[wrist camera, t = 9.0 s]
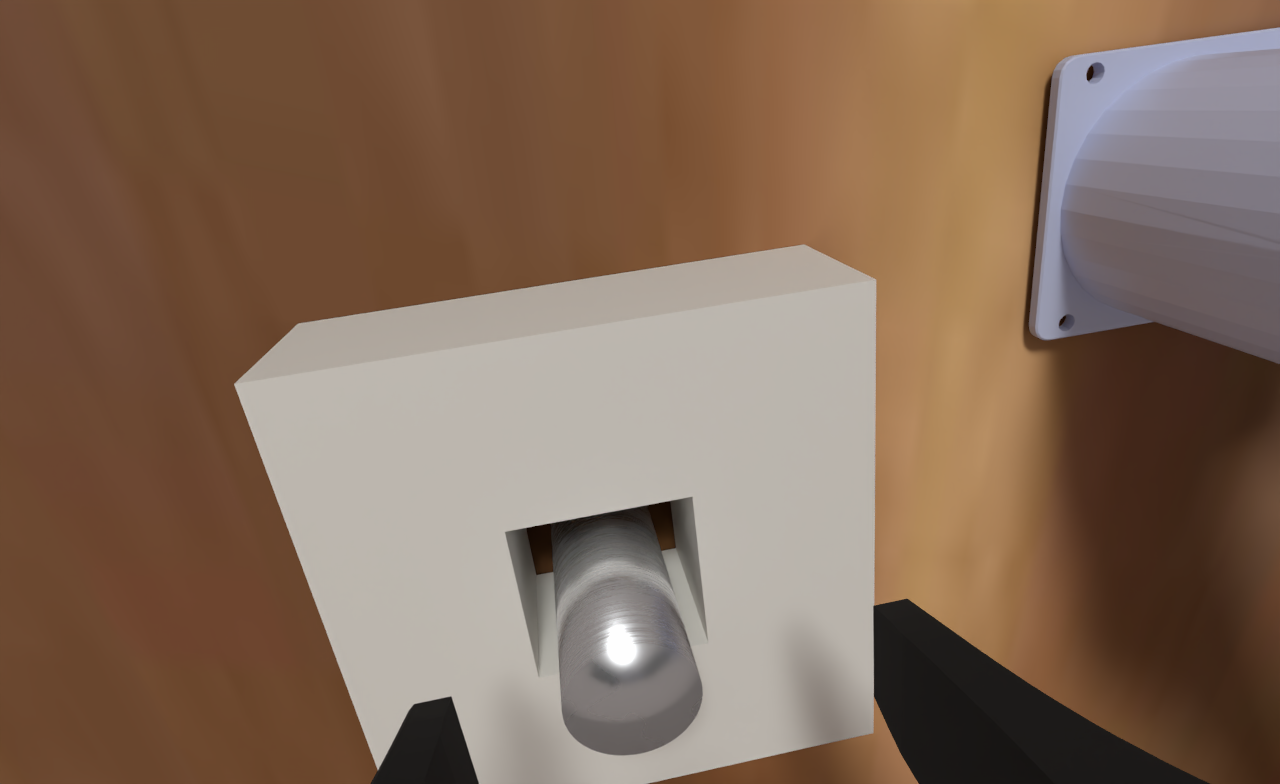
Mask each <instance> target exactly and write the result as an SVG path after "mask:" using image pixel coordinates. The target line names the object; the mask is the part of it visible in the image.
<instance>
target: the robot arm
mask: <svg viewBox="0 0 1280 784" xmlns="http://www.w3.org/2000/svg"><path fill="white" fill-rule="evenodd" d="M1091 65H1092V66H1093V70H1094V73H1093V76H1092V79H1091V80H1090V81H1089V82H1088V81H1087V77H1086V73H1087V70H1088V68H1089V67H1090V66H1091ZM1063 316H1066V319H1065V321H1064V323H1063V324H1062V325H1061V326H1059V322H1060V319H1061V318H1062V317H1063ZM1151 322H1157V323H1160V324H1163V325H1166V326H1169V327H1172V328H1174V329H1177V330H1180V331H1183V332H1186V333H1189V334H1192V335H1195V336H1198V337H1201V338H1204V339H1207V340H1210V341H1213V342H1216V343H1219V344H1222V345H1225V346H1228V347H1231V348H1234V349H1237V350H1240V351H1242V352H1245V353H1248V354H1251V355H1254V356H1257V357H1260V358H1263V359H1266V360H1269V361H1272V362H1275V363H1278V364H1280V27H1279V28H1272V29H1264V30H1257V31H1250V32H1242V33H1235V34H1228V35H1220V36H1213V37H1206V38H1198V39H1191V40H1184V41H1176V42H1169V43H1162V44H1154V45H1147V46H1140V47H1132V48H1125V49H1117V50H1110V51H1103V52H1095V53H1088V54H1081V55H1073V56H1069V57H1066V58H1064V59H1063V60H1062V61H1061V62H1059V63H1058V65H1057V66H1056V68H1055V69H1054V72H1053V76H1052V82H1051V92H1050V103H1049V114H1048V125H1047V135H1046V146H1045V157H1044V167H1043V178H1042V189H1041V200H1040V210H1039V221H1038V232H1037V242H1036V253H1035V264H1034V274H1033V285H1032V296H1031V307H1030V317H1029V331H1030V332H1031V334H1032V335H1033V336H1035V337H1037V338H1039V339H1042V340H1054V339H1059V338H1065V337H1071V336H1076V335H1082V334H1088V333H1094V332H1099V331H1105V330H1111V329H1116V328H1122V327H1128V326H1134V325H1139V324H1145V323H1151ZM873 636H874V697H875V699H876V701H877V704H878V706H879V708H880V710H881V712H882V715H883V717H884V719H885V721H886V723H887V726H888V728H889V730H890V732H891V734H892V736H893V738H894V740H895V742H896V744H897V747H898V749H899V751H900V753H901V755H902V756H903V758H904V760H905V761H906V763H907V765H908V767H909V768H910V770H911V772H912V773H913V775H914V776H915V778H916V780H917V781H918V783H919V784H1210V783H1207V782H1205V781H1203V780H1201V779H1199V778H1197V777H1195V776H1193V775H1190V774H1188V773H1186V772H1184V771H1182V770H1180V769H1178V768H1176V767H1174V766H1172V765H1170V764H1168V763H1166V762H1164V761H1162V760H1160V759H1159V758H1157V757H1155V756H1153V755H1151V754H1149V753H1147V752H1145V751H1143V750H1142V749H1140V748H1138V747H1136V746H1134V745H1132V744H1130V743H1128V742H1126V741H1125V740H1123V739H1121V738H1119V737H1117V736H1115V735H1113V734H1112V733H1110V732H1108V731H1106V730H1105V729H1103V728H1101V727H1099V726H1097V725H1096V724H1094V723H1092V722H1091V721H1089V720H1087V719H1086V718H1084V717H1082V716H1081V715H1079V714H1077V713H1076V712H1074V711H1072V710H1071V709H1069V708H1067V707H1066V706H1064V705H1062V704H1061V703H1059V702H1057V701H1056V700H1054V699H1052V698H1051V697H1049V696H1048V695H1046V694H1044V693H1043V692H1041V691H1040V690H1038V689H1037V688H1035V687H1033V686H1032V685H1030V684H1029V683H1027V682H1026V681H1024V680H1023V679H1021V678H1020V677H1018V676H1017V675H1015V674H1014V673H1012V672H1011V671H1009V670H1008V669H1006V668H1005V667H1003V666H1002V665H1000V664H999V663H997V662H996V661H994V660H993V659H991V658H990V657H989V656H987V655H986V654H984V653H983V652H981V651H980V650H979V649H977V648H976V647H974V646H973V645H971V644H970V643H969V642H967V641H966V640H964V639H963V638H962V637H960V636H959V635H957V634H956V633H955V632H953V631H952V630H950V629H949V628H948V627H946V626H945V625H943V624H942V623H941V622H939V621H938V620H936V619H935V618H934V617H932V616H931V615H929V614H928V613H927V612H925V611H924V610H922V609H921V608H920V607H918V606H917V605H915V604H914V603H912V602H911V601H910V600H908V599H904V600H899V601H894V602H890V603H885V604H880V605H876V606H873ZM371 784H479V782H478V779H477V776H476V772H475V769H474V766H473V763H472V760H471V757H470V754H469V750H468V747H467V744H466V741H465V738H464V735H463V732H462V728H461V725H460V722H459V719H458V716H457V713H456V709H455V706H454V703H453V700H452V697H451V696H450V697H445V698H440V699H436V700H431V701H426V702H422V703H417V704H414V705H413V706H412V707H411V708H410V710H409V711H408V713H407V715H406V717H405V719H404V721H403V723H402V725H401V727H400V729H399V731H398V733H397V735H396V737H395V739H394V741H393V743H392V745H391V746H390V748H389V750H388V752H387V754H386V756H385V758H384V760H383V762H382V764H381V766H380V767H379V769H378V771H377V773H376V775H375V777H374V779H373V780H372V782H371Z"/></svg>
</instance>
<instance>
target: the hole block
mask: <svg viewBox="0 0 1280 784" xmlns="http://www.w3.org/2000/svg"><path fill="white" fill-rule="evenodd" d="M234 385H235V388H236V390H237V393H238V396H239V399H240V401H241V404H242V407H243V409H244V412H245V415H246V417H247V420H248V423H249V425H250V428H251V431H252V433H253V436H254V439H255V441H256V444H257V447H258V450H259V452H260V455H261V458H262V460H263V463H264V466H265V468H266V471H267V474H268V476H269V479H270V482H271V484H272V487H273V490H274V492H275V495H276V498H277V501H278V503H279V506H280V509H281V511H282V514H283V517H284V519H285V522H286V525H287V527H288V530H289V533H290V535H291V538H292V541H293V544H294V546H295V549H296V552H297V554H298V557H299V560H300V562H301V565H302V568H303V570H304V573H305V576H306V578H307V581H308V584H309V586H310V589H311V592H312V595H313V597H314V600H315V603H316V605H317V608H318V611H319V613H320V616H321V619H322V621H323V624H324V627H325V629H326V632H327V635H328V637H329V640H330V643H331V646H332V648H333V651H334V654H335V656H336V659H337V662H338V664H339V667H340V670H341V672H342V675H343V678H344V680H345V683H346V686H347V689H348V691H349V694H350V697H351V699H352V702H353V705H354V707H355V710H356V713H357V715H358V718H359V721H360V723H361V726H362V729H363V731H364V734H365V737H366V740H367V742H368V745H369V748H370V750H371V753H372V756H373V758H374V761H375V764H376V766H377V769H379V767H380V766H381V764H382V762H383V760H384V758H385V756H386V754H387V752H388V750H389V748H390V746H391V745H392V743H393V741H394V739H395V737H396V735H397V733H398V731H399V729H400V727H401V725H402V723H403V721H404V719H405V717H406V715H407V713H408V711H409V710H410V708H411V707H412V706H413V705H414V704H417V703H422V702H426V701H431V700H436V699H440V698H445V697H450V696H451V697H452V700H453V703H454V706H455V709H456V713H457V716H458V719H459V722H460V725H461V728H462V732H463V735H464V738H465V741H466V744H467V747H468V750H469V754H470V757H471V760H472V763H473V766H474V769H475V772H476V776H477V779H478V782H479V784H648V783H652V782H657V781H661V780H666V779H670V778H675V777H679V776H684V775H688V774H693V773H697V772H701V771H706V770H710V769H715V768H719V767H724V766H728V765H733V764H737V763H742V762H746V761H751V760H755V759H760V758H764V757H769V756H773V755H777V754H782V753H786V752H791V751H795V750H800V749H804V748H809V747H813V746H818V745H822V744H827V743H831V742H836V741H840V740H844V739H849V738H853V737H858V736H862V735H867V734H871V733H873V710H874V636H873V606H874V549H875V388H876V279H874V278H872V277H870V276H868V275H866V274H864V273H862V272H859V271H857V270H855V269H853V268H851V267H849V266H847V265H845V264H843V263H841V262H839V261H837V260H835V259H833V258H831V257H829V256H827V255H825V254H823V253H820V252H818V251H816V250H814V249H812V248H810V247H808V246H806V245H798V246H792V247H785V248H779V249H772V250H766V251H760V252H753V253H747V254H741V255H734V256H728V257H721V258H715V259H709V260H702V261H696V262H689V263H683V264H677V265H670V266H664V267H657V268H651V269H645V270H638V271H632V272H626V273H619V274H613V275H606V276H600V277H594V278H587V279H581V280H574V281H568V282H562V283H555V284H549V285H542V286H536V287H530V288H523V289H517V290H511V291H504V292H498V293H491V294H485V295H479V296H472V297H466V298H459V299H453V300H447V301H440V302H434V303H427V304H421V305H415V306H408V307H402V308H396V309H389V310H383V311H376V312H370V313H364V314H357V315H351V316H344V317H338V318H332V319H325V320H319V321H312V322H306V323H300V324H297V325H296V326H295V327H294V328H293V329H292V330H291V331H290V332H289V333H288V334H287V335H286V336H285V337H283V338H282V339H281V340H280V341H279V342H278V343H277V344H276V345H275V346H274V347H273V348H272V349H271V350H270V351H269V352H268V353H267V354H266V355H264V356H263V357H262V358H261V359H260V360H259V361H258V362H257V363H256V364H255V365H254V366H253V367H252V368H251V369H250V370H249V371H248V372H246V373H245V374H244V375H243V376H242V377H241V378H240V379H239V380H238V381H237V382H236V383H235V384H234ZM667 501H670V504H671V513H672V521H673V529H674V537H675V545H676V548H674V549H669V550H664V551H662V555H663V558H664V561H665V564H666V568H667V571H668V574H669V578H670V581H671V584H672V587H673V591H674V594H675V597H676V600H677V604H678V607H679V610H680V613H681V617H682V620H683V623H684V626H685V630H686V633H687V636H688V639H689V643H690V646H691V649H692V652H693V656H694V659H695V662H696V665H697V669H698V672H699V675H700V678H701V682H702V687H703V696H702V703H701V706H700V709H699V711H698V714H697V716H696V717H695V719H694V720H693V722H692V723H691V724H690V726H689V727H688V728H687V729H686V730H685V731H684V732H683V733H682V734H681V735H679V736H678V737H677V738H676V739H674V740H673V741H671V742H669V743H668V744H666V745H664V746H662V747H660V748H657V749H655V750H652V751H649V752H645V753H641V754H635V755H609V754H604V753H600V752H597V751H594V750H591V749H589V748H587V747H585V746H584V745H582V744H581V743H579V742H578V741H577V740H576V739H575V738H574V737H573V736H572V735H571V734H570V732H569V731H568V729H567V727H566V726H565V723H564V720H563V716H562V708H561V692H560V675H559V658H558V642H557V625H556V609H555V592H554V575H553V572H550V573H545V574H540V575H536V571H535V566H534V562H533V557H532V553H531V548H530V543H529V539H528V534H527V530H526V528H528V527H533V526H539V525H544V524H549V523H555V522H560V521H565V520H571V519H576V518H581V517H587V516H592V515H597V514H603V513H608V512H613V511H619V510H624V509H629V508H635V507H640V506H645V505H651V504H656V503H661V502H667Z"/></svg>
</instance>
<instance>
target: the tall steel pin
mask: <svg viewBox="0 0 1280 784" xmlns="http://www.w3.org/2000/svg"><path fill="white" fill-rule="evenodd" d="M550 526H551V542H552V559H553V575H554V592H555V609H556V625H557V642H558V658H559V675H560V692H561V708H562V716H563V720H564V723H565V726H566V727H567V729H568V731H569V732H570V734H571V735H572V736H573V737H574V738H575V739H576V740H577V741H578V742H579V743H581V744H582V745H584V746H585V747H587V748H589V749H591V750H594V751H597V752H600V753H604V754H609V755H635V754H641V753H645V752H649V751H652V750H655V749H657V748H660V747H662V746H664V745H666V744H668V743H669V742H671V741H673V740H674V739H676V738H677V737H678V736H679V735H681V734H682V733H683V732H684V731H685V730H686V729H687V728H688V727H689V726H690V724H691V723H692V722H693V720H694V719H695V717H696V716H697V714H698V711H699V709H700V706H701V703H702V696H703V687H702V682H701V678H700V675H699V672H698V669H697V665H696V662H695V659H694V656H693V652H692V649H691V646H690V643H689V639H688V636H687V633H686V630H685V626H684V623H683V620H682V617H681V613H680V610H679V607H678V604H677V600H676V597H675V594H674V591H673V587H672V584H671V581H670V578H669V574H668V571H667V568H666V564H665V561H664V558H663V555H662V551H661V548H660V545H659V542H658V538H657V535H656V532H655V529H654V525H653V522H652V519H651V516H650V512H649V509H648V506H647V505H645V506H640V507H635V508H629V509H624V510H619V511H613V512H608V513H603V514H597V515H592V516H587V517H581V518H576V519H571V520H565V521H560V522H555V523H550Z"/></svg>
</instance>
